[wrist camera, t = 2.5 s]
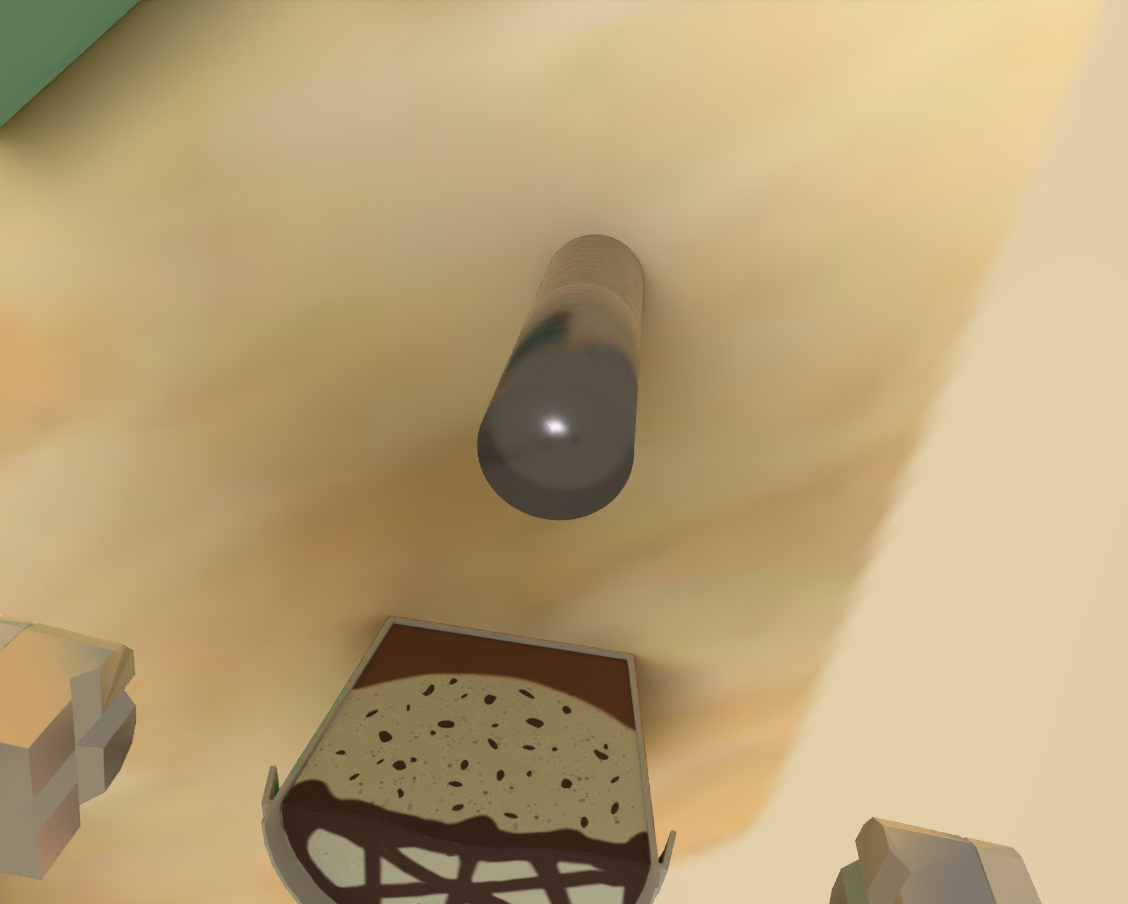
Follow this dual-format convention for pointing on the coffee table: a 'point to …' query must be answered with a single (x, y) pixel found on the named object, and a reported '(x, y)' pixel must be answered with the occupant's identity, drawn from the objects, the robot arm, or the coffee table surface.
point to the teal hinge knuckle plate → (46, 42)
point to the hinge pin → (570, 387)
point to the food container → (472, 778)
